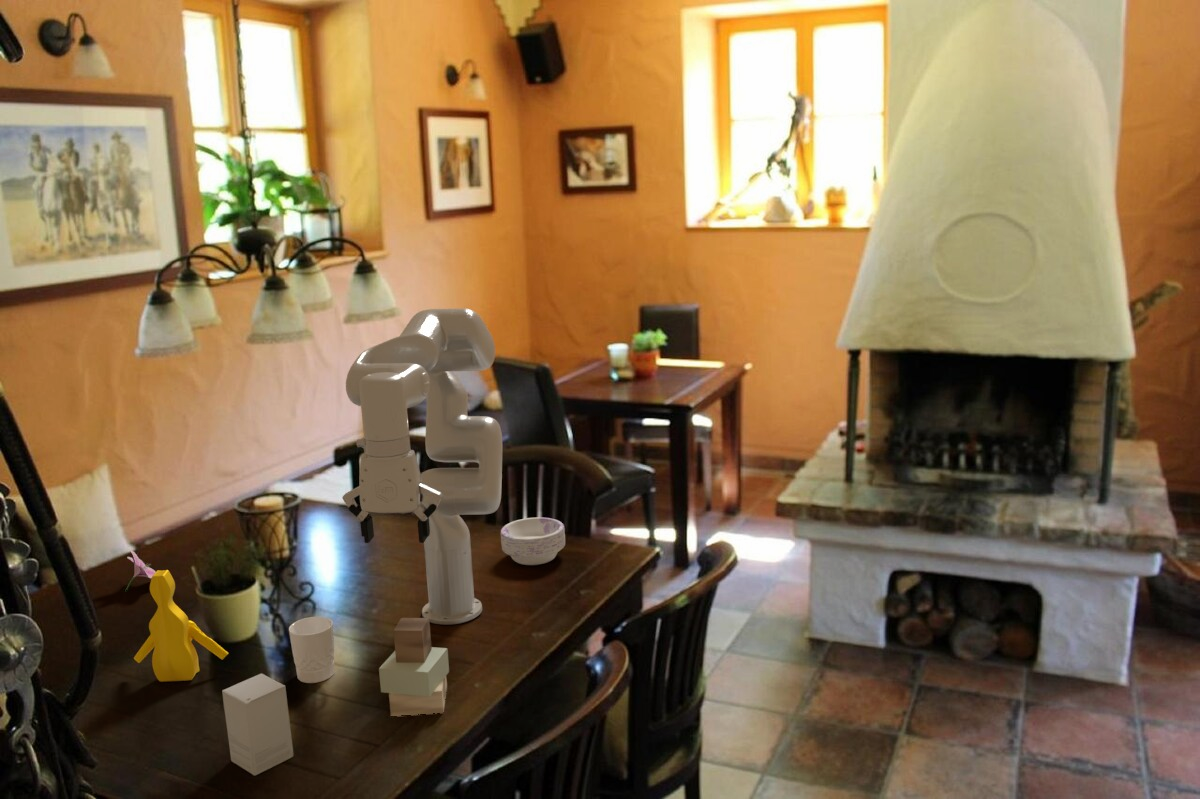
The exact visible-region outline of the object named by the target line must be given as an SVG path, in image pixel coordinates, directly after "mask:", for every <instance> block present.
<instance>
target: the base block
mask: <svg viewBox="0 0 1200 799" xmlns="http://www.w3.org/2000/svg"><path fill="white" fill-rule="evenodd" d="M447 691H448V680H447V675H446V676H445V678H444V679H443V680H442V682H441V683H440V684H439V685H438V687H437V688H436V689H435V691H434V692H433V693H432V695H431V696H430V697H429V696H418V695H407V694H396V693H388V698H389V710H390V711H389V712H390V717H391V716H397V717H402V716H401V715H411V716H421V715H420V714H426V715H438V714H437V713H440V714H444V713H443V712H444V711H445V706H446V700H445V699H447V693H448V692H447ZM446 692H447V693H446ZM433 713H435V714H433ZM418 714H419V715H418Z"/></svg>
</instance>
